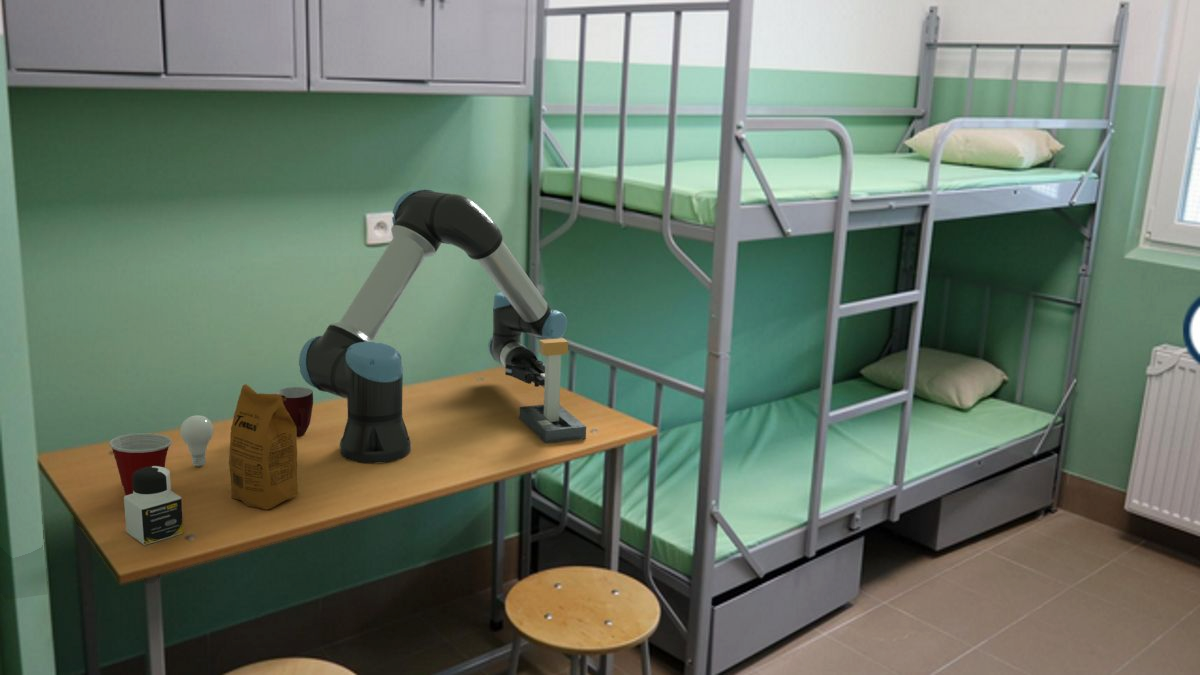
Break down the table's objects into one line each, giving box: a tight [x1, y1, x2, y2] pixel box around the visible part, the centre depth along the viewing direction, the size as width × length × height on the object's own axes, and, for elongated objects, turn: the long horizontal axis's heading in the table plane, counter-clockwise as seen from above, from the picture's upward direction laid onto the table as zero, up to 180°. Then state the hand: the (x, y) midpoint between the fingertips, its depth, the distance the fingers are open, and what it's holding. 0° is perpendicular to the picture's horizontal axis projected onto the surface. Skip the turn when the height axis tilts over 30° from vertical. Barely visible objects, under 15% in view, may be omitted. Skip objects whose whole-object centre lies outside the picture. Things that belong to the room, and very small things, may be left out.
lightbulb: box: [179, 414, 214, 468], centre depth 209 cm, size 6×6×11 cm
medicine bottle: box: [123, 466, 184, 546], centre depth 179 cm, size 7×7×12 cm
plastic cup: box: [108, 432, 173, 496], centre depth 193 cm, size 11×11×12 cm
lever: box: [538, 337, 569, 422], centre depth 240 cm, size 3×6×20 cm, turn 114°
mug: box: [275, 386, 314, 438], centre depth 229 cm, size 11×8×10 cm
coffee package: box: [228, 383, 299, 510], centre depth 194 cm, size 10×12×22 cm
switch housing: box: [518, 404, 587, 444], centre depth 242 cm, size 18×10×3 cm, turn 24°
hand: (552, 386), depth 242 cm, fingers closed
